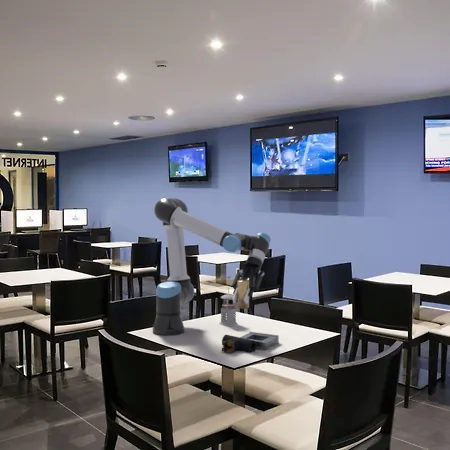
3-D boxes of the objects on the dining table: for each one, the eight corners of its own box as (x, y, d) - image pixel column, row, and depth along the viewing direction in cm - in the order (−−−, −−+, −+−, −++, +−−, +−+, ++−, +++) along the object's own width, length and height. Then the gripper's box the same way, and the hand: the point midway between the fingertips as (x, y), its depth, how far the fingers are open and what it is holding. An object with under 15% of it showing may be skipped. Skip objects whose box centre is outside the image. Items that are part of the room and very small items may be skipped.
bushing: (235, 308, 228) (235, 281, 228) (240, 306, 233) (240, 279, 232) (245, 308, 226) (245, 281, 225) (250, 307, 230) (250, 280, 230)
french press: (221, 326, 260) (221, 277, 259) (216, 321, 271) (216, 274, 270) (240, 325, 262) (240, 276, 262) (234, 320, 274) (234, 273, 273)
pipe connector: (240, 344, 207) (212, 337, 216) (239, 357, 207) (211, 350, 217) (256, 339, 216) (229, 333, 225) (256, 351, 216) (229, 345, 225)
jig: (236, 345, 223) (236, 338, 223) (250, 338, 235) (250, 331, 235) (265, 350, 216) (265, 342, 216) (278, 342, 228) (278, 335, 228)
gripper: (275, 266, 238) (260, 308, 224) (240, 265, 246) (224, 305, 232) (270, 256, 233) (255, 298, 219) (235, 255, 242) (218, 295, 228)
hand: (239, 301), depth 226 cm, fingers closed on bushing, 5 cm apart
